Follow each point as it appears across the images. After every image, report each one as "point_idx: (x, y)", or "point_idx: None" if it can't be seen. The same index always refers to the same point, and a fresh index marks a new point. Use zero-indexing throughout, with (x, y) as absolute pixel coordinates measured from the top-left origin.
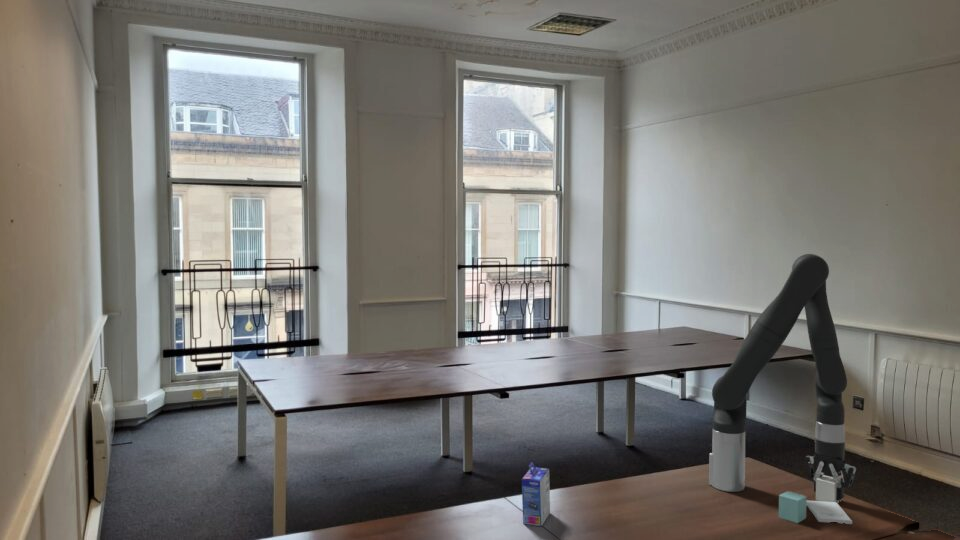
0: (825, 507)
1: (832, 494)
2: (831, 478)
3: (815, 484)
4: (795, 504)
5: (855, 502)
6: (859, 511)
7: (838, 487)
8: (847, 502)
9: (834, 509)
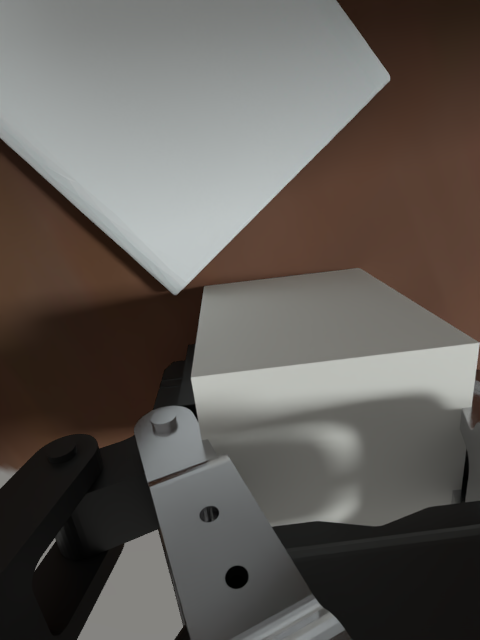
0: (156, 51)
1: (218, 313)
2: None
3: None
4: None
5: None
6: (8, 325)
7: (177, 408)
8: None
9: (69, 80)
